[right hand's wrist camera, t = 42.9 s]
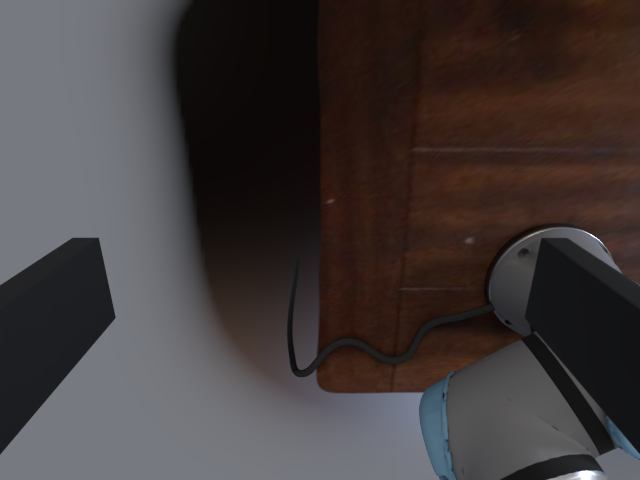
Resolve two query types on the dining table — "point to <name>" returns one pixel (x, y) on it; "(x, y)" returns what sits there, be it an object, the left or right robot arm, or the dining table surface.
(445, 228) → the dining table surface
